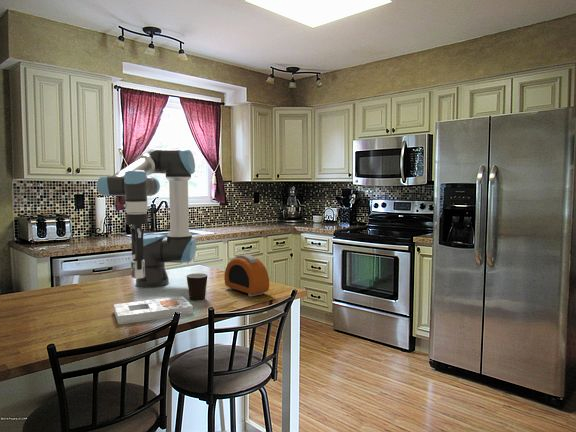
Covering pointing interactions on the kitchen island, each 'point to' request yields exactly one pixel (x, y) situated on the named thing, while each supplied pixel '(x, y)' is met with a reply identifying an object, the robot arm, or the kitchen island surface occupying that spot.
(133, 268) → the pill bottle
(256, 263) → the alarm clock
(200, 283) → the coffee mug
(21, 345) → the kitchen island surface
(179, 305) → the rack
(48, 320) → the kitchen island surface
